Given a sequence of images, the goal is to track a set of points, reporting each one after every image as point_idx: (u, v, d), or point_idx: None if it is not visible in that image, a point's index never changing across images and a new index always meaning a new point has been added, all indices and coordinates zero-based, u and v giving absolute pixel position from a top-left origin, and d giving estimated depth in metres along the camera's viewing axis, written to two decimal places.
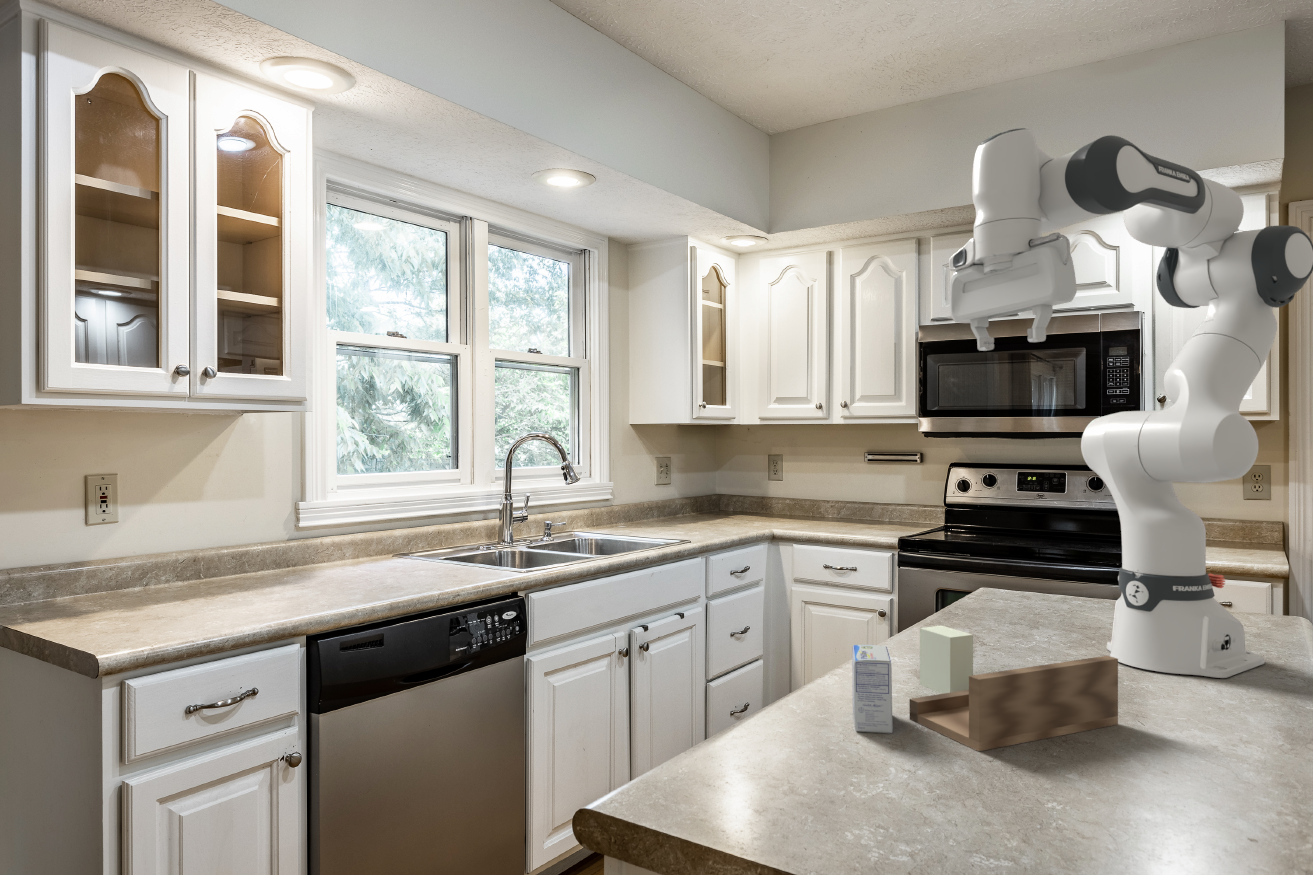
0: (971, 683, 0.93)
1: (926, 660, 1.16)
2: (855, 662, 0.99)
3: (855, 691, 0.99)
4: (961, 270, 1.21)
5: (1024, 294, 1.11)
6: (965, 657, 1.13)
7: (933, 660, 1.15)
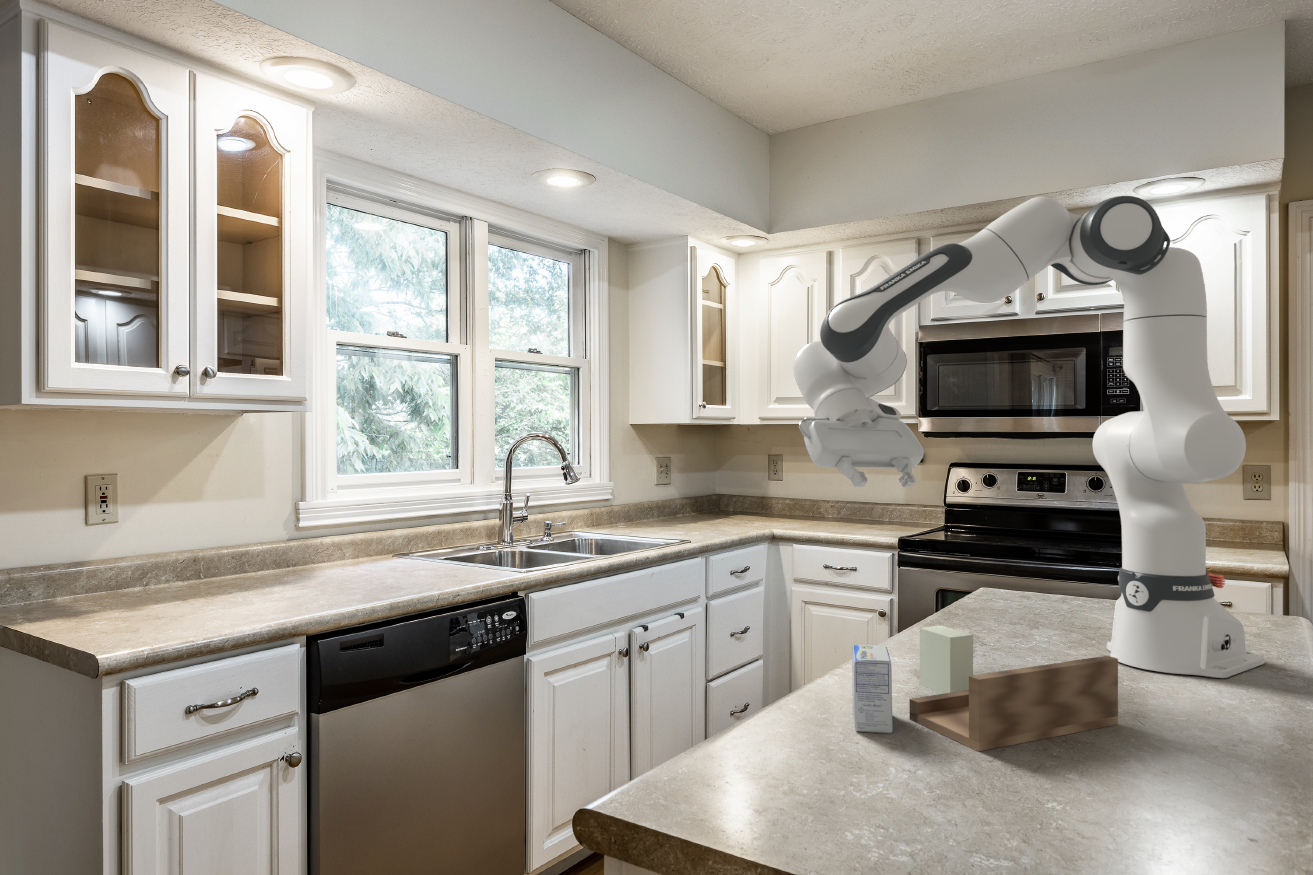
0: (971, 683, 0.93)
1: (926, 660, 1.16)
2: (855, 662, 0.99)
3: (855, 691, 0.99)
4: None
5: None
6: (965, 657, 1.13)
7: (933, 660, 1.15)
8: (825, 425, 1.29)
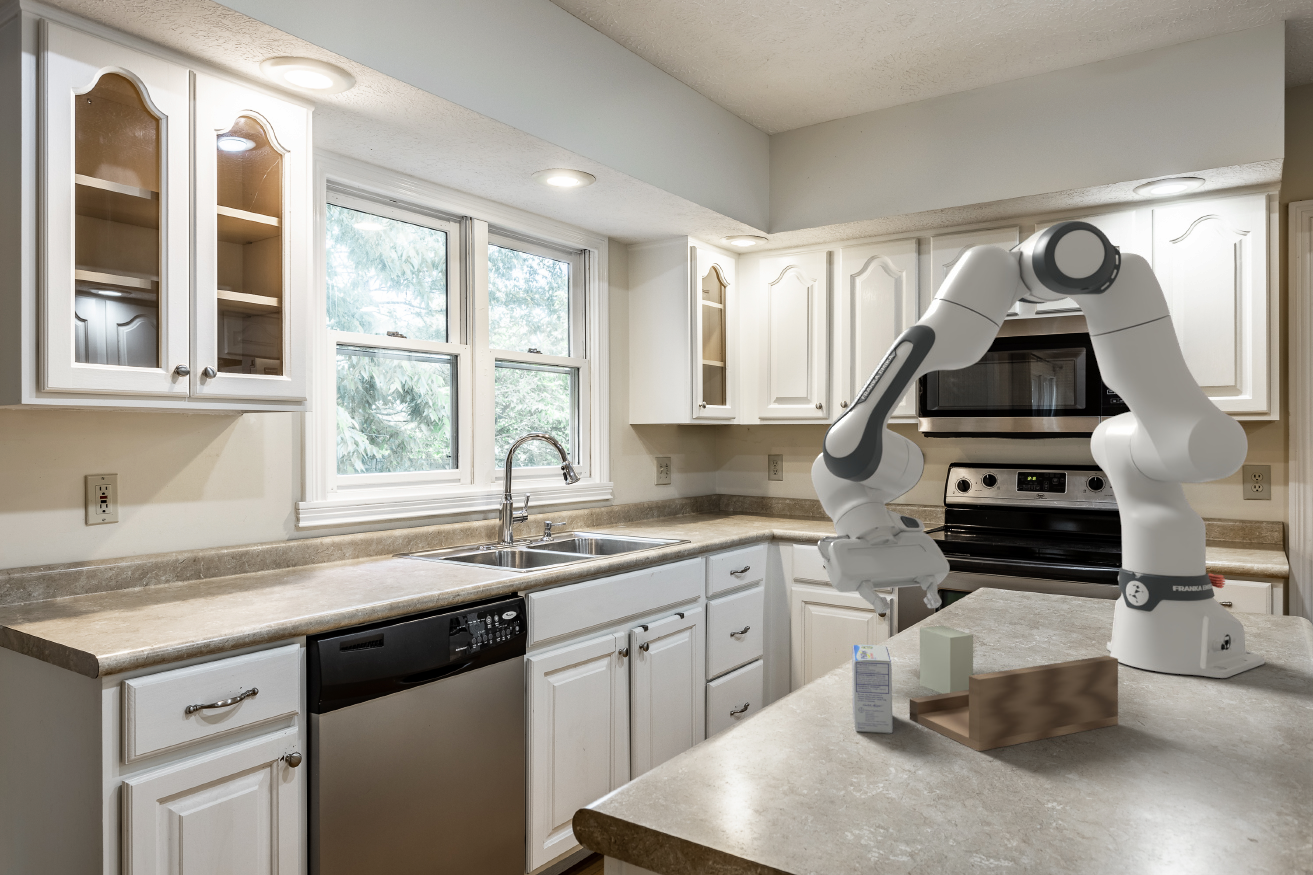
0: (971, 683, 0.93)
1: (926, 660, 1.16)
2: (855, 662, 0.99)
3: (855, 691, 0.99)
4: None
5: None
6: (965, 657, 1.13)
7: (933, 660, 1.15)
8: (845, 545, 1.25)
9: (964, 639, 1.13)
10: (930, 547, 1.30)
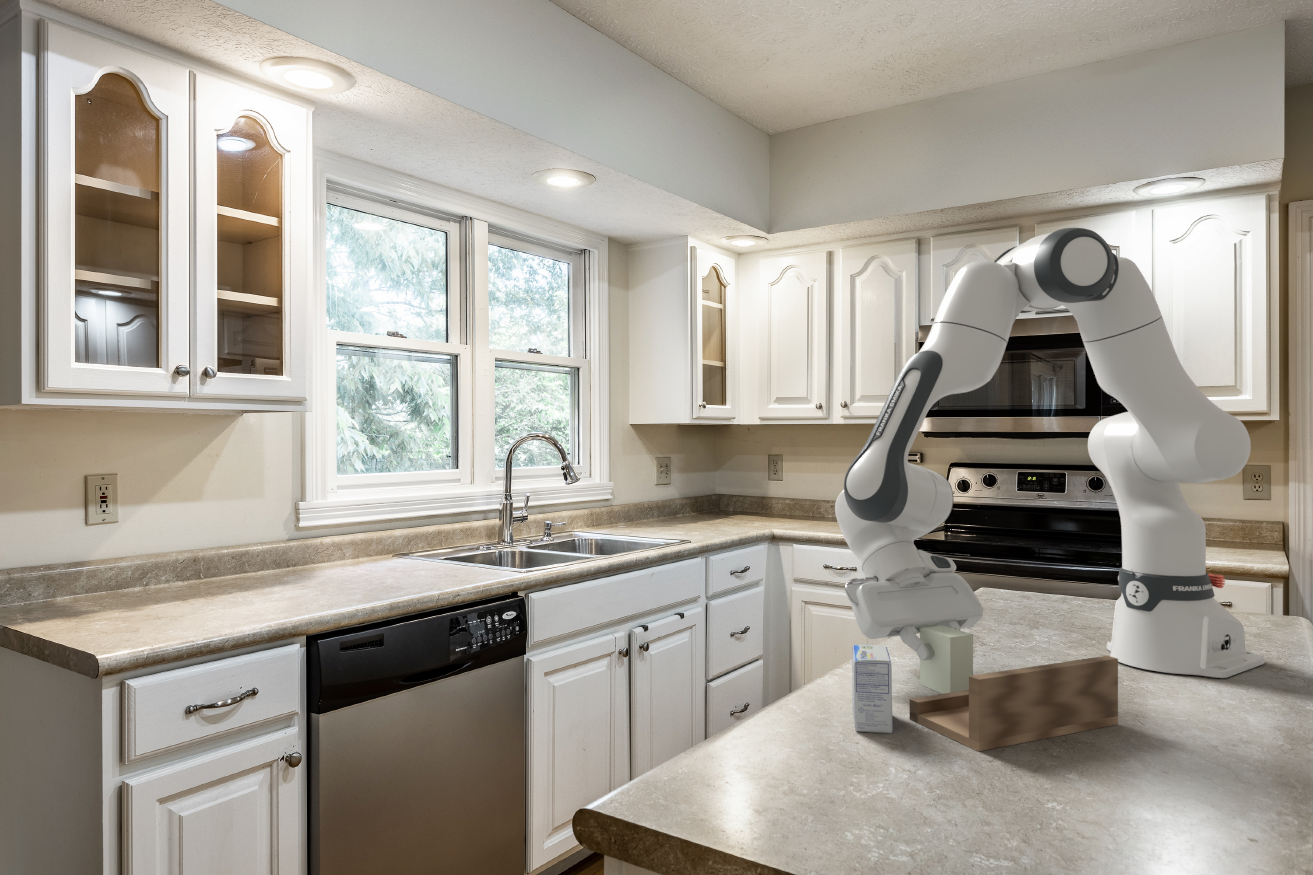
0: (971, 683, 0.93)
1: (926, 660, 1.16)
2: (855, 662, 0.99)
3: (855, 691, 0.99)
4: None
5: None
6: (965, 657, 1.13)
7: (933, 660, 1.15)
8: (874, 589, 1.19)
9: (964, 639, 1.13)
10: (962, 589, 1.24)
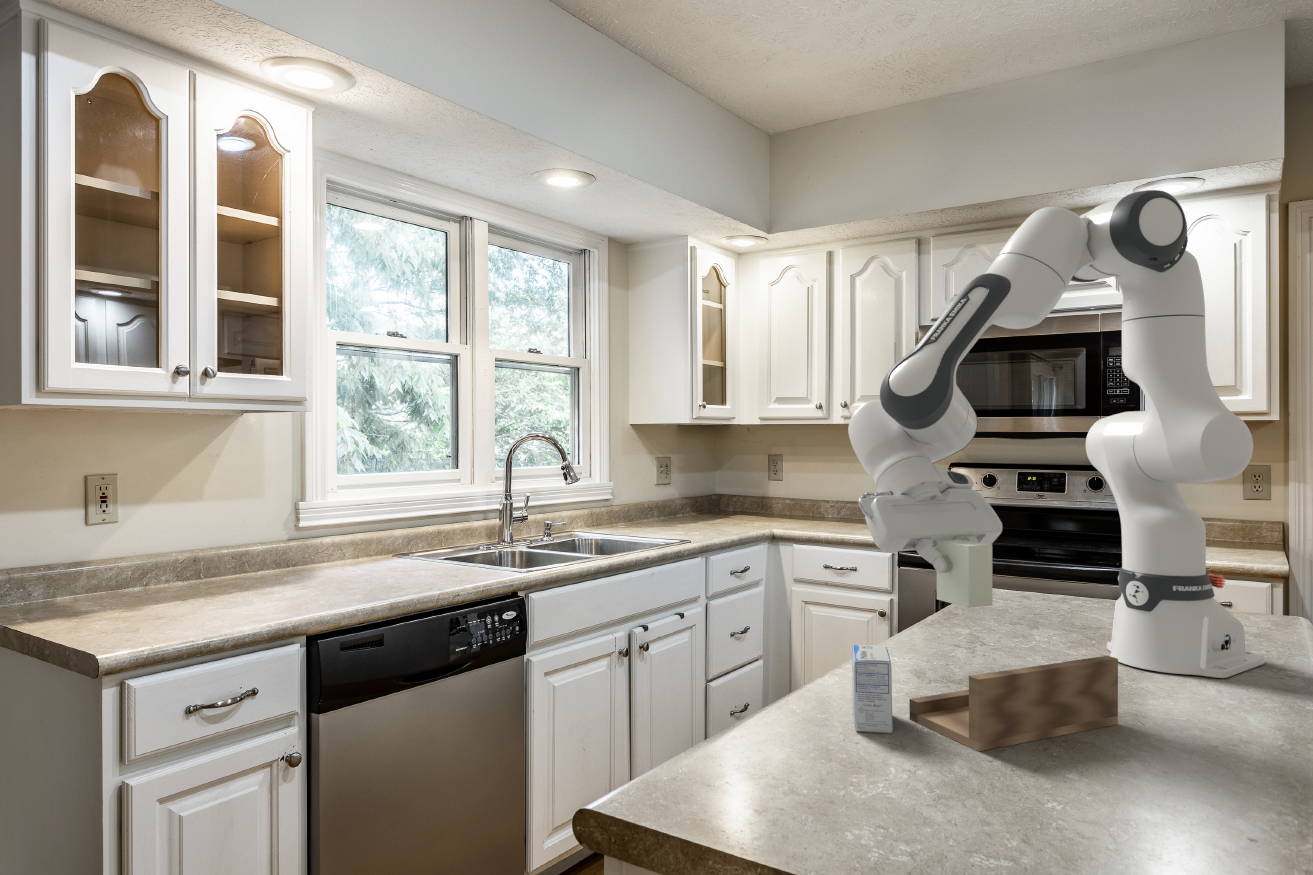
0: (971, 683, 0.93)
1: (943, 573, 1.12)
2: (855, 662, 0.99)
3: (855, 691, 0.99)
4: None
5: None
6: (984, 567, 1.09)
7: (951, 572, 1.11)
8: (889, 502, 1.15)
9: (983, 548, 1.09)
10: (980, 505, 1.19)
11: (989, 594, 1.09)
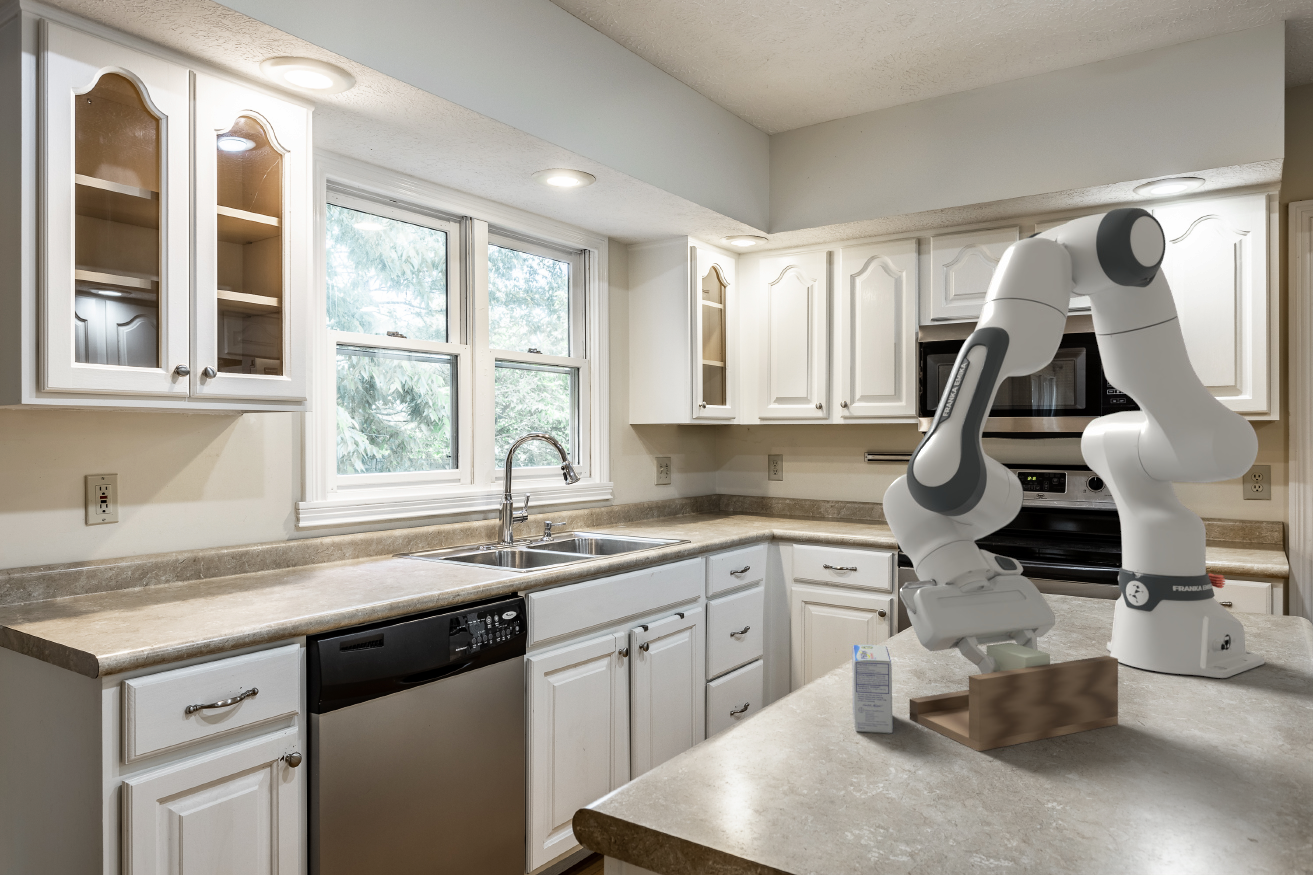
0: (971, 683, 0.93)
1: None
2: (855, 662, 0.99)
3: (855, 691, 0.99)
4: None
5: None
6: None
7: None
8: (934, 594, 1.05)
9: (1040, 659, 0.99)
10: (1031, 593, 1.09)
11: None
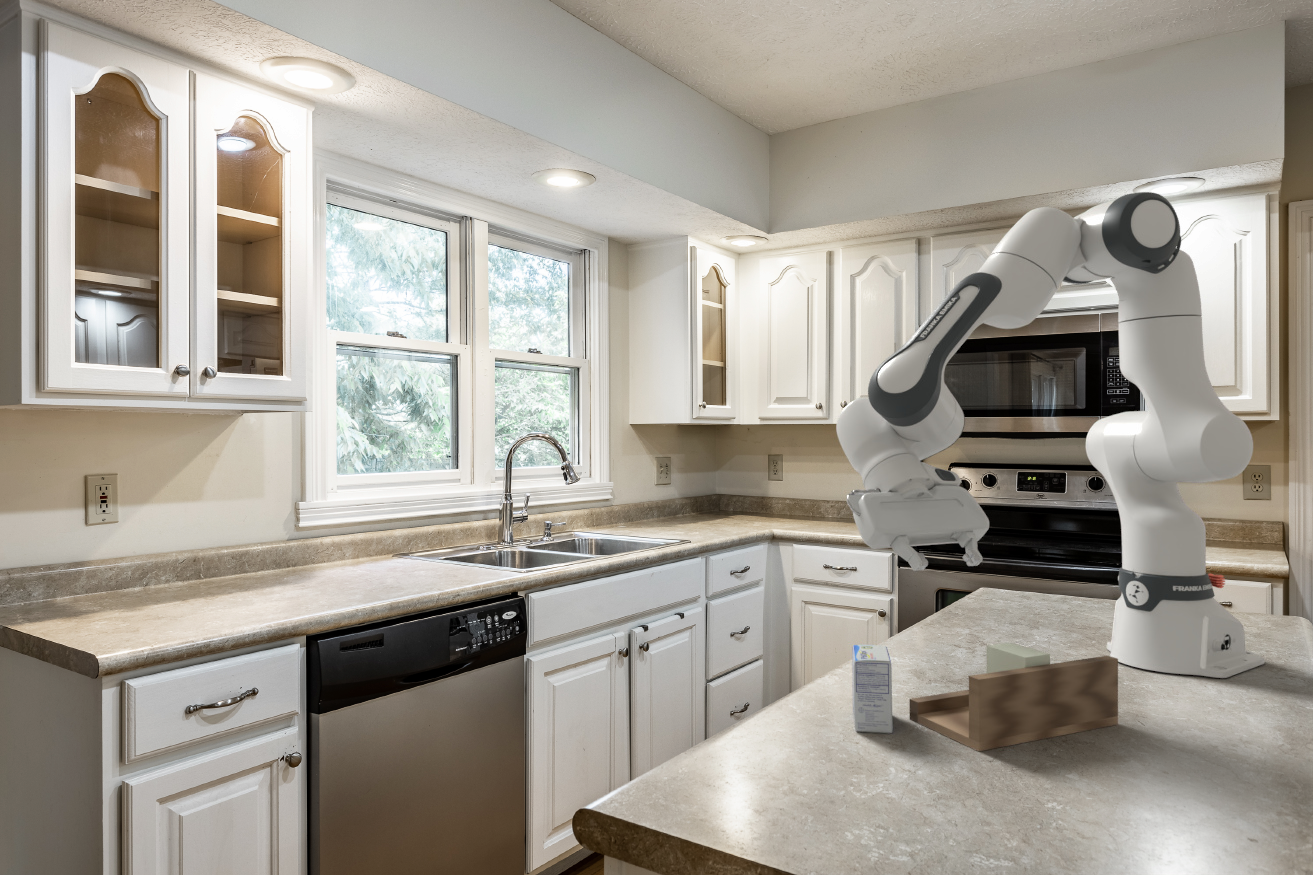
0: (971, 683, 0.93)
1: None
2: (855, 662, 0.99)
3: (855, 691, 0.99)
4: None
5: None
6: None
7: None
8: (877, 499, 1.15)
9: (1040, 659, 0.99)
10: (968, 502, 1.20)
11: None
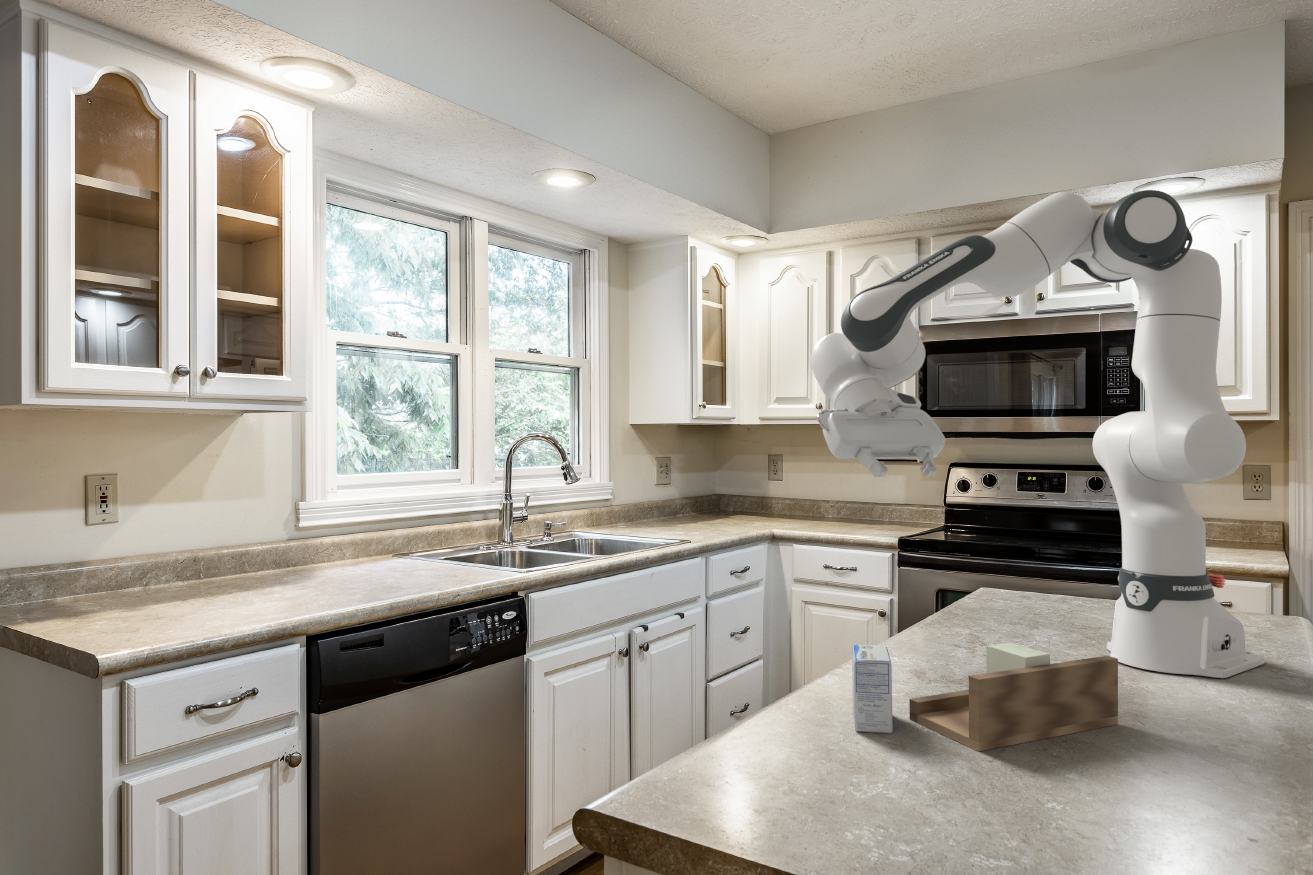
0: (971, 683, 0.93)
1: None
2: (855, 662, 0.99)
3: (855, 691, 0.99)
4: None
5: None
6: None
7: None
8: (843, 416, 1.29)
9: (1040, 659, 0.99)
10: (926, 422, 1.33)
11: None
